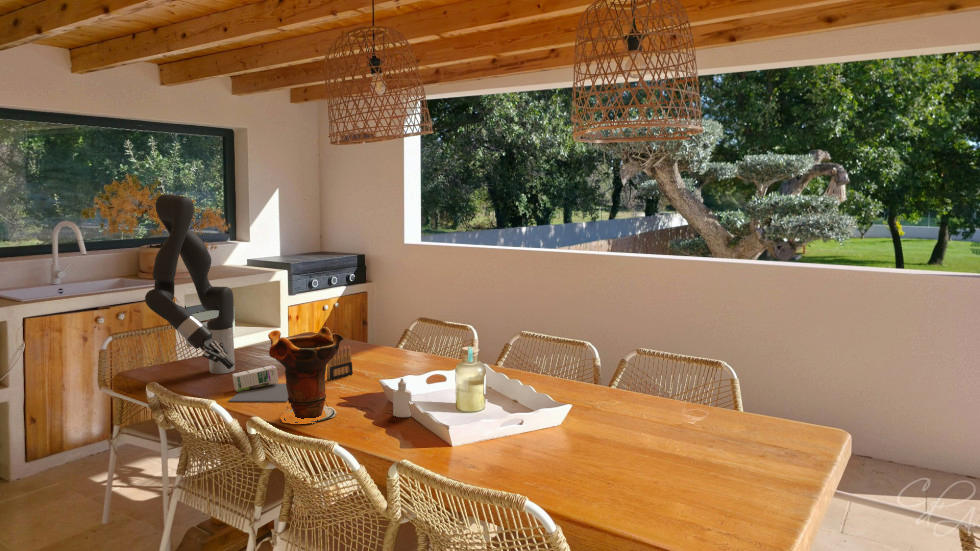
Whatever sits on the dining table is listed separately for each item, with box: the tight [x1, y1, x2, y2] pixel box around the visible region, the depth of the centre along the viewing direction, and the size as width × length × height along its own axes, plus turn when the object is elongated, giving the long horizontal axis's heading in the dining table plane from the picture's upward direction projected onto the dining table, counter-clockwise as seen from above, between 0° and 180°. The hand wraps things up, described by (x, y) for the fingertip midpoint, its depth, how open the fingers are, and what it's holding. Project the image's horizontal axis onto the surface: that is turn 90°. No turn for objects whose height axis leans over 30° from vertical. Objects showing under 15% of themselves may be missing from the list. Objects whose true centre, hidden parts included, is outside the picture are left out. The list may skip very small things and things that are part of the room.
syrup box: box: [231, 365, 279, 393], centre depth 240 cm, size 6×6×14 cm
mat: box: [228, 382, 289, 403], centre depth 235 cm, size 20×19×1 cm
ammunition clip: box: [326, 343, 354, 381], centre depth 254 cm, size 11×2×12 cm, turn 141°
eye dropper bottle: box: [392, 377, 413, 418], centre depth 211 cm, size 4×6×12 cm
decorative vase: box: [267, 326, 345, 423], centre depth 211 cm, size 21×23×28 cm
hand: (231, 366), depth 234 cm, fingers closed
